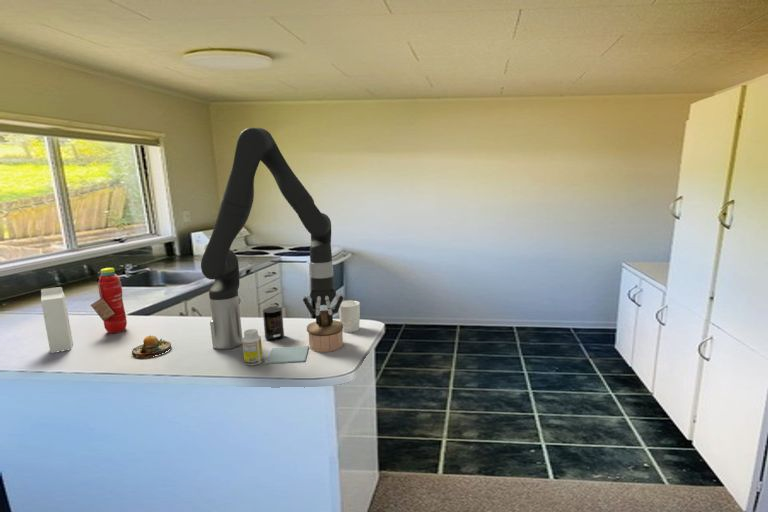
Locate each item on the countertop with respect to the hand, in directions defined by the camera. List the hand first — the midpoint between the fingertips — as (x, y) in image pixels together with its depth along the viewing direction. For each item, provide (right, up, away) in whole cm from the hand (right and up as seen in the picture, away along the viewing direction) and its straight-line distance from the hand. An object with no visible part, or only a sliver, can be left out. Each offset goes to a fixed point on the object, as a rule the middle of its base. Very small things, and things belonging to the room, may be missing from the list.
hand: (324, 325), depth 149 cm
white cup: (+7, -4, +17) cm, 19 cm away
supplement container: (-19, -6, +11) cm, 23 cm away
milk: (-93, -10, +8) cm, 94 cm away
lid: (0, -1, 0) cm, 1 cm away
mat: (-11, -9, -5) cm, 15 cm away
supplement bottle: (-21, -10, -10) cm, 25 cm away
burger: (-59, -10, +2) cm, 60 cm away
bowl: (0, -7, +1) cm, 7 cm away
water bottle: (-84, -7, +23) cm, 88 cm away
